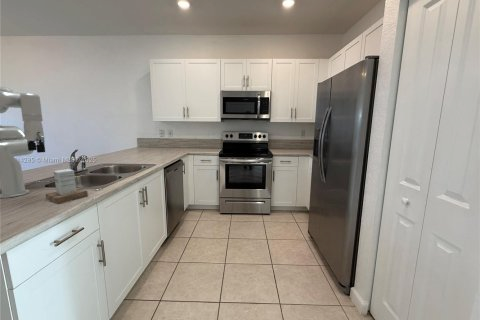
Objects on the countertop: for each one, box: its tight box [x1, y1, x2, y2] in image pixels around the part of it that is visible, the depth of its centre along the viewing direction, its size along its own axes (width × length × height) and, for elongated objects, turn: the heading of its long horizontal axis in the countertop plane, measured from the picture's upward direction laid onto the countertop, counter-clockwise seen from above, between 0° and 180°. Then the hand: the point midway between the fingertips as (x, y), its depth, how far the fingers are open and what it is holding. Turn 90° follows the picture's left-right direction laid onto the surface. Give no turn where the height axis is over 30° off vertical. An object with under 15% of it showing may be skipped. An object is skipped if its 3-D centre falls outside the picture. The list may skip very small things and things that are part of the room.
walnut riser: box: [44, 187, 89, 205], centre depth 122 cm, size 14×14×3 cm
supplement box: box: [53, 168, 77, 195], centre depth 120 cm, size 7×7×13 cm
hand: (36, 151), depth 116 cm, fingers open, 9 cm apart
